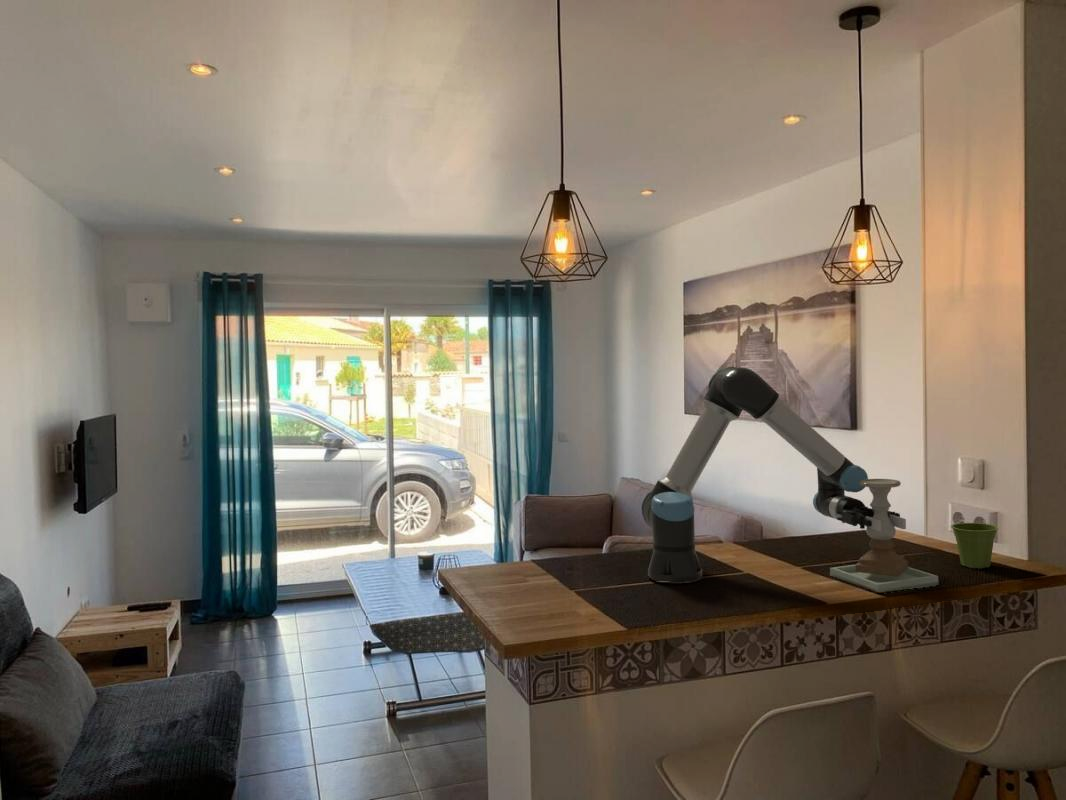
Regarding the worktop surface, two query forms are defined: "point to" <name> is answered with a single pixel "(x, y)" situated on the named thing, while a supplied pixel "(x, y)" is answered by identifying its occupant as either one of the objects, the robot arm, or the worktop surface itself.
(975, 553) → the plant pot
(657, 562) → the robot arm
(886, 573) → the candle holder
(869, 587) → the tray
